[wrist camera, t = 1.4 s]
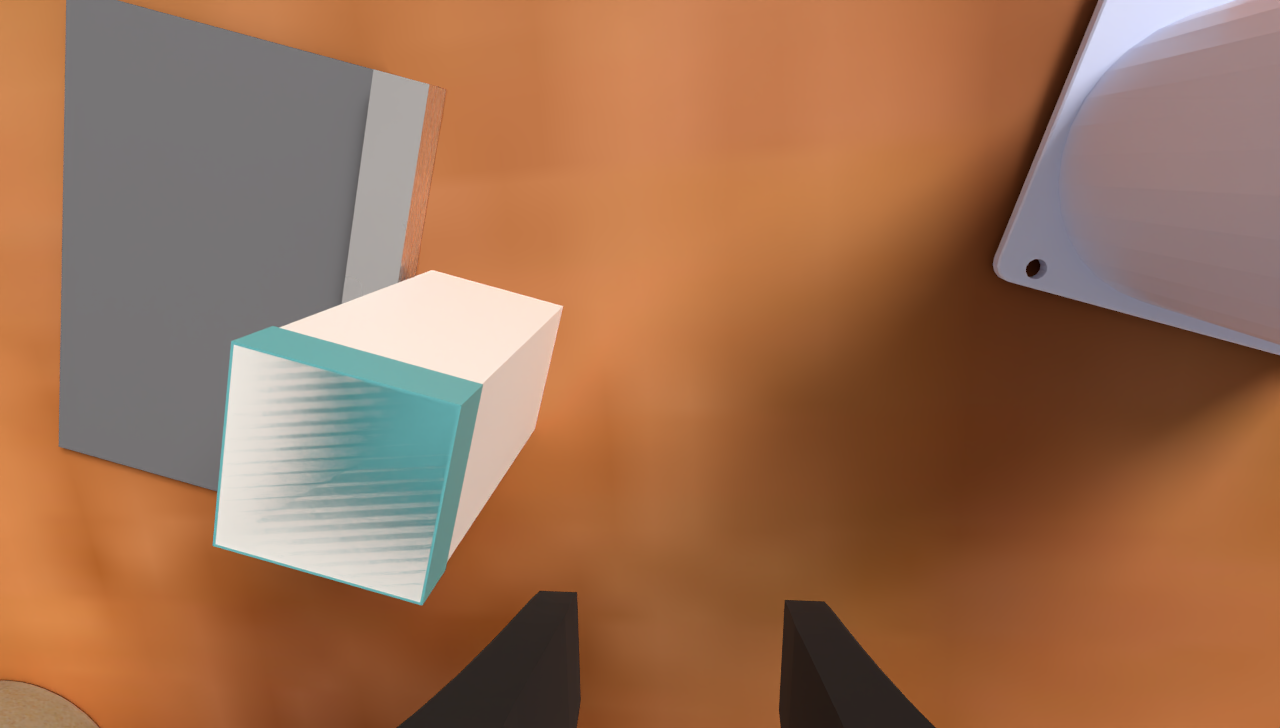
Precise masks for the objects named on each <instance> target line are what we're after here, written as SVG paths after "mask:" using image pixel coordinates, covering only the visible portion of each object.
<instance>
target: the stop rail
mask: <svg viewBox="0 0 1280 728" xmlns="http://www.w3.org/2000/svg"><path fill="white" fill-rule="evenodd" d="M445 93H446V89H444V88H440V87H437V86H433V85H430V84H426V83H422V82H419V81H415V80H411V79H408V78H404V77H400V76H396V75H393V74H389V73H385V72H382V71H378V70H374V69H373V77H372V84H371V91H370V99H369V106H368V113H367V121H366V128H365V135H364V143H363V150H362V157H361V165H360V172H359V179H358V187H357V194H356V201H355V209H354V216H353V223H352V231H351V238H350V245H349V253H348V260H347V267H346V275H345V282H344V289H343V297H342V304H343V303H346V302H348V301H351V300H354V299H356V298H359V297H362V296H364V295H367V294H370V293H372V292H375V291H378V290H380V289H383V288H386V287H388V286H391V285H394V284H396V283H399V282H402V281H404V280H407V279H410V278H412V277H415V274H416V268H417V262H418V256H419V250H420V244H421V238H422V232H423V226H424V220H425V214H426V208H427V202H428V196H429V190H430V184H431V178H432V172H433V166H434V160H435V154H436V148H437V142H438V136H439V130H440V124H441V117H442V111H443V105H444V99H445Z"/></svg>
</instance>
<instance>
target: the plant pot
mask: <svg viewBox="0 0 1280 728" xmlns="http://www.w3.org/2000/svg"><path fill="white" fill-rule="evenodd" d="M0 728H99V727H98V725H97V724H96V723H95V722H94V721H93V720H92V719H91V718H90V717H89V716H88V715H87V714H85V713H84V712H83V711H81V710H80V709H79V708H78V707H76V706H75V705H74V704H72V703H71V702H69V701H68V700H66V699H64V698H63V697H61V696H59V695H57V694H55V693H53V692H51V691H48V690H46V689H44V688H41V687H38V686H35V685H32V684H28V683H24V682H17V681H6V680H2V681H0Z"/></svg>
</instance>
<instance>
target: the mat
mask: <svg viewBox="0 0 1280 728" xmlns="http://www.w3.org/2000/svg"><path fill="white" fill-rule="evenodd" d="M372 77H373V69H370V68H366V67H362V66H358V65H355V64H351V63H347V62H344V61H340V60H336V59H333V58H329V57H325V56H321V55H318V54H314V53H310V52H307V51H303V50H299V49H295V48H292V47H288V46H284V45H281V44H277V43H273V42H270V41H266V40H262V39H258V38H255V37H251V36H247V35H244V34H240V33H236V32H232V31H229V30H225V29H221V28H218V27H214V26H210V25H207V24H203V23H199V22H195V21H192V20H188V19H184V18H181V17H177V16H173V15H169V14H166V13H162V12H158V11H155V10H151V9H147V8H144V7H140V6H136V5H132V4H129V3H125V2H121V1H118V0H66V55H65V113H64V171H63V230H62V288H61V347H60V405H59V447H62V448H66V449H70V450H73V451H77V452H80V453H84V454H87V455H91V456H94V457H98V458H101V459H105V460H108V461H112V462H115V463H119V464H122V465H126V466H129V467H133V468H136V469H140V470H143V471H147V472H151V473H154V474H158V475H161V476H165V477H168V478H172V479H175V480H179V481H182V482H186V483H189V484H193V485H196V486H200V487H203V488H207V489H210V490H214V491H217V492H218V481H219V470H220V459H221V448H222V437H223V426H224V415H225V404H226V393H227V382H228V371H229V360H230V349H231V341H233V340H236V339H238V338H241V337H244V336H247V335H249V334H252V333H255V332H258V331H260V330H263V329H266V328H268V327H271V326H275V327H282V326H285V325H287V324H290V323H293V322H295V321H298V320H301V319H303V318H306V317H309V316H311V315H314V314H317V313H319V312H322V311H325V310H327V309H330V308H333V307H335V306H338V305H341V304H342V297H343V289H344V282H345V275H346V267H347V260H348V253H349V245H350V238H351V231H352V223H353V216H354V209H355V201H356V194H357V187H358V179H359V172H360V165H361V157H362V150H363V143H364V135H365V128H366V121H367V113H368V106H369V99H370V91H371V84H372Z"/></svg>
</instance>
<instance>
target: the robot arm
mask: <svg viewBox="0 0 1280 728" xmlns="http://www.w3.org/2000/svg"><path fill="white" fill-rule="evenodd" d="M1034 259H1038V260H1039V262H1040V270H1039V271H1038V273H1037V274H1036V275H1034V276H1032V277H1028V276H1027V273H1026V266H1027V265H1028V264H1029V262H1030V261H1032V260H1034ZM993 268H994V272H995V273H996V274H997V276H998V277H999V278H1001V279H1003V280H1006V281H1008V282H1011V283H1015V284H1019V285H1022V286H1026V287H1030V288H1033V289H1037V290H1041V291H1044V292H1048V293H1052V294H1055V295H1059V296H1063V297H1066V298H1070V299H1074V300H1078V301H1081V302H1085V303H1089V304H1092V305H1096V306H1100V307H1103V308H1107V309H1111V310H1114V311H1118V312H1122V313H1126V314H1129V315H1133V316H1137V317H1140V318H1144V319H1148V320H1151V321H1155V322H1159V323H1162V324H1166V325H1170V326H1173V327H1177V328H1181V329H1185V330H1188V331H1192V332H1196V333H1199V334H1203V335H1207V336H1210V337H1214V338H1218V339H1221V340H1225V341H1229V342H1232V343H1236V344H1240V345H1244V346H1247V347H1251V348H1255V349H1258V350H1262V351H1266V352H1269V353H1273V354H1277V355H1280V0H1098V3H1097V5H1096V8H1095V10H1094V13H1093V15H1092V17H1091V20H1090V22H1089V25H1088V27H1087V30H1086V32H1085V35H1084V37H1083V40H1082V42H1081V45H1080V47H1079V49H1078V52H1077V54H1076V57H1075V59H1074V62H1073V64H1072V67H1071V69H1070V72H1069V74H1068V77H1067V79H1066V82H1065V84H1064V86H1063V89H1062V91H1061V94H1060V96H1059V99H1058V101H1057V104H1056V106H1055V109H1054V111H1053V114H1052V116H1051V118H1050V121H1049V123H1048V126H1047V128H1046V131H1045V133H1044V136H1043V138H1042V141H1041V143H1040V146H1039V148H1038V151H1037V153H1036V155H1035V158H1034V160H1033V163H1032V165H1031V168H1030V170H1029V173H1028V175H1027V178H1026V180H1025V183H1024V185H1023V188H1022V190H1021V192H1020V195H1019V197H1018V200H1017V202H1016V205H1015V207H1014V210H1013V212H1012V215H1011V217H1010V220H1009V222H1008V224H1007V227H1006V229H1005V232H1004V234H1003V237H1002V239H1001V242H1000V244H999V247H998V249H997V252H996V254H995V257H994V261H993ZM580 701H581V697H580V667H579V637H578V607H577V592H553V591H539V592H538V593H537V594H536V595H535V596H534V597H533V598H532V599H531V600H530V601H529V602H528V603H527V604H526V605H525V606H524V607H523V608H522V610H521V611H520V612H519V613H518V614H517V615H516V616H515V617H514V618H513V619H512V620H511V621H510V623H509V624H508V625H507V626H506V627H505V628H504V629H503V630H502V631H501V632H500V633H499V634H498V635H497V636H496V637H495V638H494V639H493V640H492V641H491V642H490V643H489V644H488V645H487V646H486V647H485V648H484V649H483V650H482V651H481V652H480V653H479V654H478V655H477V656H476V657H475V658H474V659H473V660H472V661H471V662H470V663H469V664H468V665H467V666H466V667H465V668H464V669H463V670H462V671H461V672H460V673H459V674H458V675H457V676H456V677H455V678H454V679H453V680H452V681H450V682H449V683H448V684H447V685H446V686H445V687H444V688H443V689H442V690H440V691H439V692H438V693H437V694H436V695H435V696H434V697H433V698H431V699H430V700H429V701H428V702H427V703H426V704H425V705H424V706H423V707H421V708H420V709H419V710H418V711H417V712H416V713H414V714H413V715H412V716H411V717H409V718H408V719H407V720H406V721H405V722H403V723H402V724H401V725H399V726H398V727H397V728H577V721H578V714H579V708H580ZM779 714H780V724H781V728H935V727H934V726H933V725H932V724H931V723H930V722H929V721H928V720H927V719H926V718H925V717H924V716H923V715H922V714H921V713H920V712H919V711H918V710H917V709H916V707H915V706H914V705H913V704H912V703H911V702H910V701H909V700H908V699H907V698H906V697H905V696H904V695H903V694H902V692H901V691H900V690H899V689H898V688H897V687H896V686H895V685H894V684H893V682H892V681H891V680H890V679H889V678H888V677H887V676H886V675H885V674H884V672H883V671H882V670H881V669H880V668H879V667H878V666H877V664H876V663H875V662H874V661H873V660H872V659H871V658H870V656H869V655H868V654H867V653H866V652H865V650H864V649H863V648H862V647H861V645H860V644H859V643H858V642H857V641H856V639H855V638H854V637H853V636H852V634H851V633H850V632H849V631H848V629H847V628H846V627H845V626H844V624H843V623H842V622H841V621H840V619H839V618H838V617H837V616H836V614H835V613H834V612H833V611H832V609H831V608H830V607H829V606H828V605H827V604H826V603H825V602H822V601H795V600H785V608H784V627H783V646H782V665H781V683H780V702H779Z"/></svg>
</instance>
